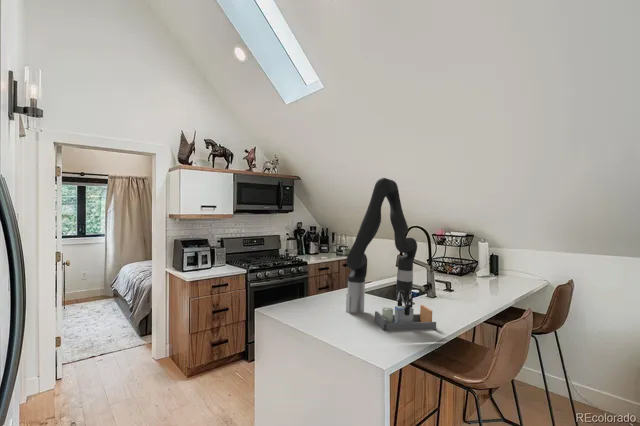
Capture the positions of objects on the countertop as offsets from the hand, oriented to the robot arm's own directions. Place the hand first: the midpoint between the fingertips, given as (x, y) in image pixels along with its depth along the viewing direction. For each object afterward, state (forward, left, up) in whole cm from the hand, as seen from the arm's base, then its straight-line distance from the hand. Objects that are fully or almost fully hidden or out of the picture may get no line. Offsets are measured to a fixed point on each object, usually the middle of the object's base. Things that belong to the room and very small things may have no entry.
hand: (403, 312), depth 158 cm
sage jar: (-8, 0, -6) cm, 10 cm away
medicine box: (0, 0, -6) cm, 6 cm away
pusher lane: (+1, 0, -7) cm, 7 cm away
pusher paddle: (+12, 0, -6) cm, 13 cm away
